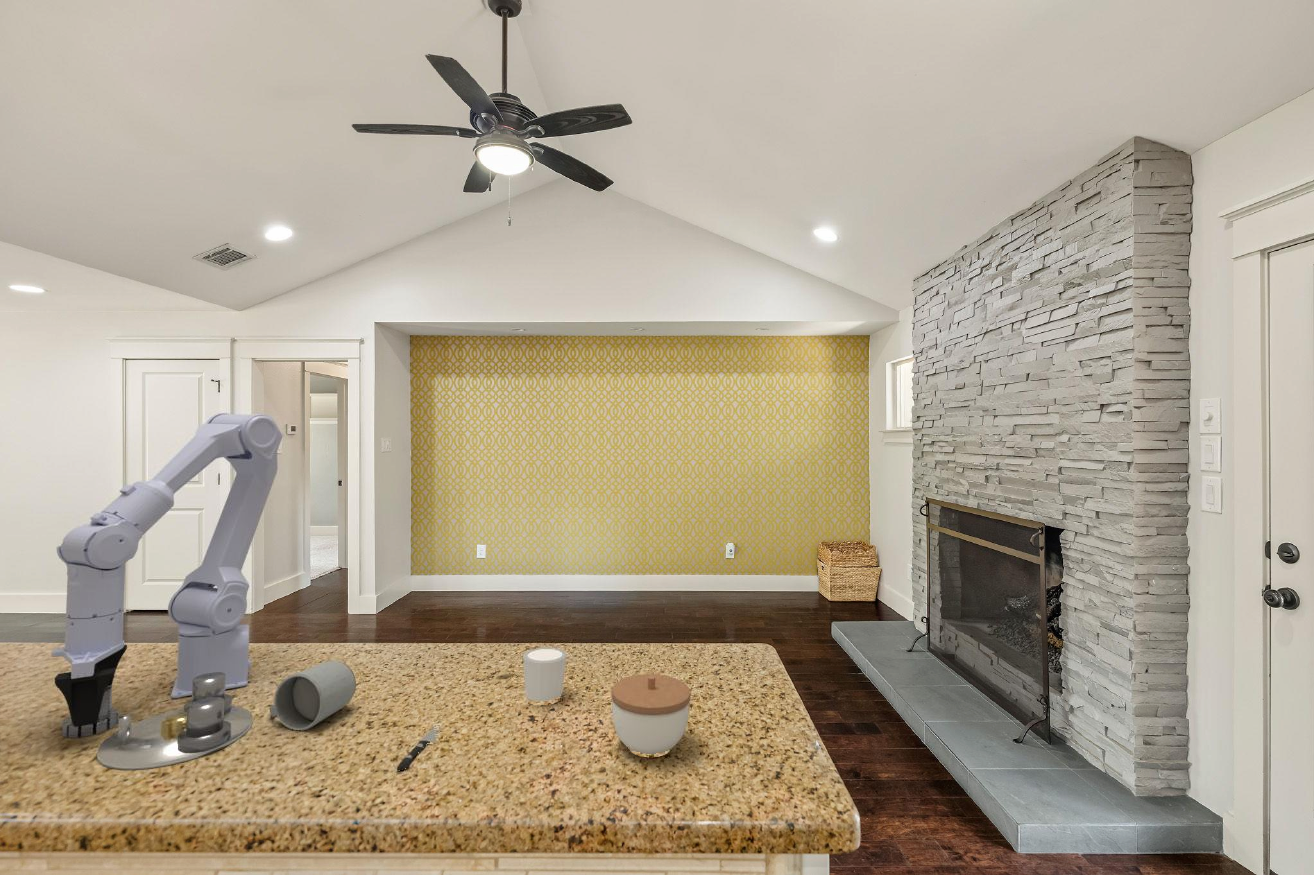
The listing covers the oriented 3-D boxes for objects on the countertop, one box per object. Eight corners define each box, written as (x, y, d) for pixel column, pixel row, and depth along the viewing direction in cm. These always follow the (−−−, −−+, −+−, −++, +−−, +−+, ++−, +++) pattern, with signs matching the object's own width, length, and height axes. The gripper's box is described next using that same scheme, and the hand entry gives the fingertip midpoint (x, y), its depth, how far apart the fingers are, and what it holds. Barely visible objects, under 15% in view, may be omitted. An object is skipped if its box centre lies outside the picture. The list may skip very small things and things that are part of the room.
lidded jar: (634, 777, 73) (637, 700, 73) (596, 738, 82) (598, 670, 82) (704, 754, 78) (707, 684, 78) (661, 721, 87) (663, 657, 87)
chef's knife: (475, 708, 91) (456, 705, 91) (476, 700, 91) (457, 698, 91) (418, 777, 72) (394, 774, 72) (419, 768, 72) (395, 764, 72)
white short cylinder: (512, 702, 92) (514, 657, 92) (537, 686, 98) (538, 644, 98) (550, 711, 89) (551, 665, 89) (573, 694, 96) (574, 650, 96)
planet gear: (121, 714, 84) (123, 679, 84) (114, 730, 80) (116, 693, 80) (68, 724, 81) (69, 687, 81) (57, 741, 76) (59, 703, 76)
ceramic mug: (360, 707, 89) (360, 656, 89) (320, 734, 80) (321, 677, 81) (297, 702, 90) (298, 651, 90) (252, 727, 82) (253, 671, 82)
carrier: (251, 700, 90) (253, 663, 90) (253, 746, 77) (254, 703, 77) (109, 726, 81) (111, 685, 81) (84, 784, 68) (86, 735, 68)
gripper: (67, 603, 84) (63, 699, 84) (38, 632, 72) (34, 744, 72) (133, 597, 88) (129, 688, 88) (116, 623, 76) (112, 729, 76)
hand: (91, 713), depth 80 cm, fingers open, 7 cm apart
